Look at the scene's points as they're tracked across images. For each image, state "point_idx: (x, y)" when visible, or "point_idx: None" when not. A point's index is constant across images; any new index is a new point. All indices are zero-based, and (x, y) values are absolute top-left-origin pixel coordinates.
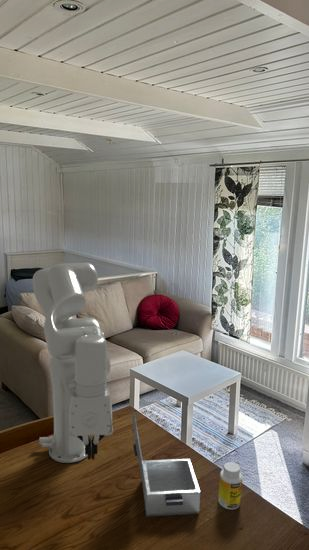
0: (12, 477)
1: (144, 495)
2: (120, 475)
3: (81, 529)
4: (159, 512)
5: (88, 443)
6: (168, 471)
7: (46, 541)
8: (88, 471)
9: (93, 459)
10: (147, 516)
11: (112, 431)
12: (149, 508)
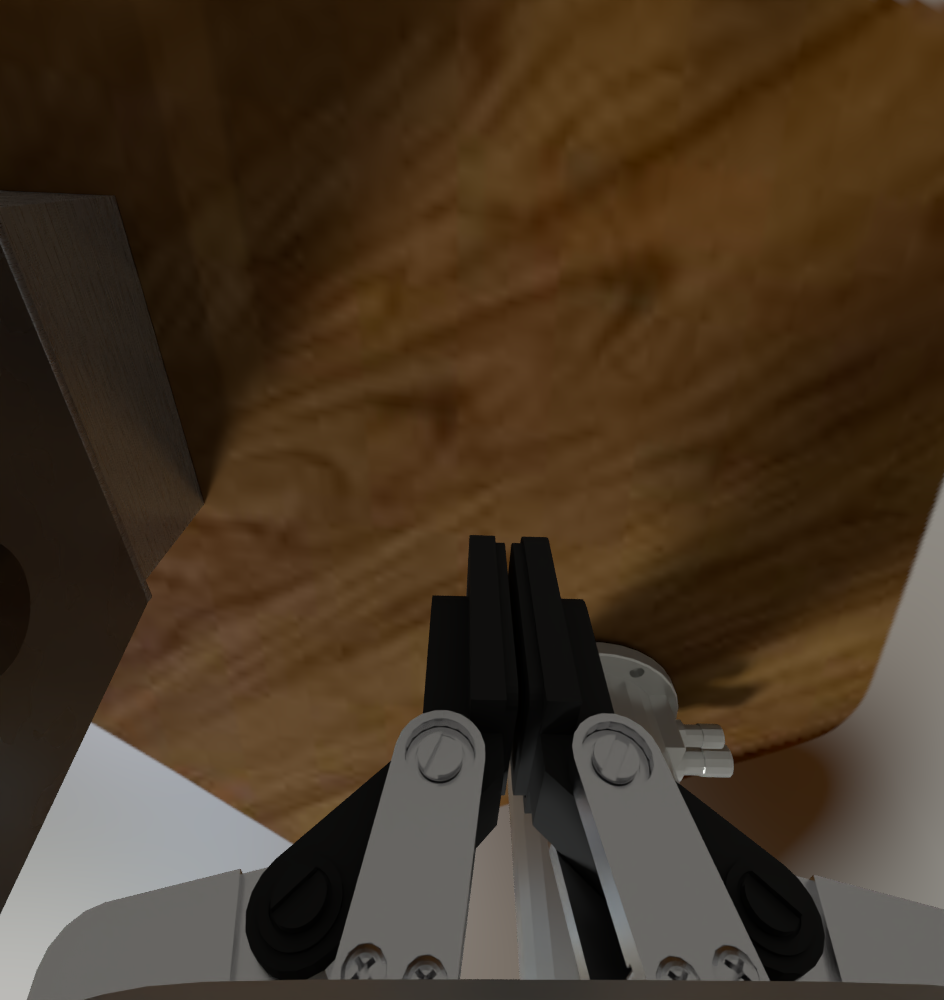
0: (869, 583)
1: (145, 366)
2: (329, 548)
3: (559, 126)
4: (1, 192)
5: (563, 735)
6: None
7: (816, 27)
8: None
9: (479, 536)
10: (107, 196)
11: (42, 991)
12: (51, 198)
